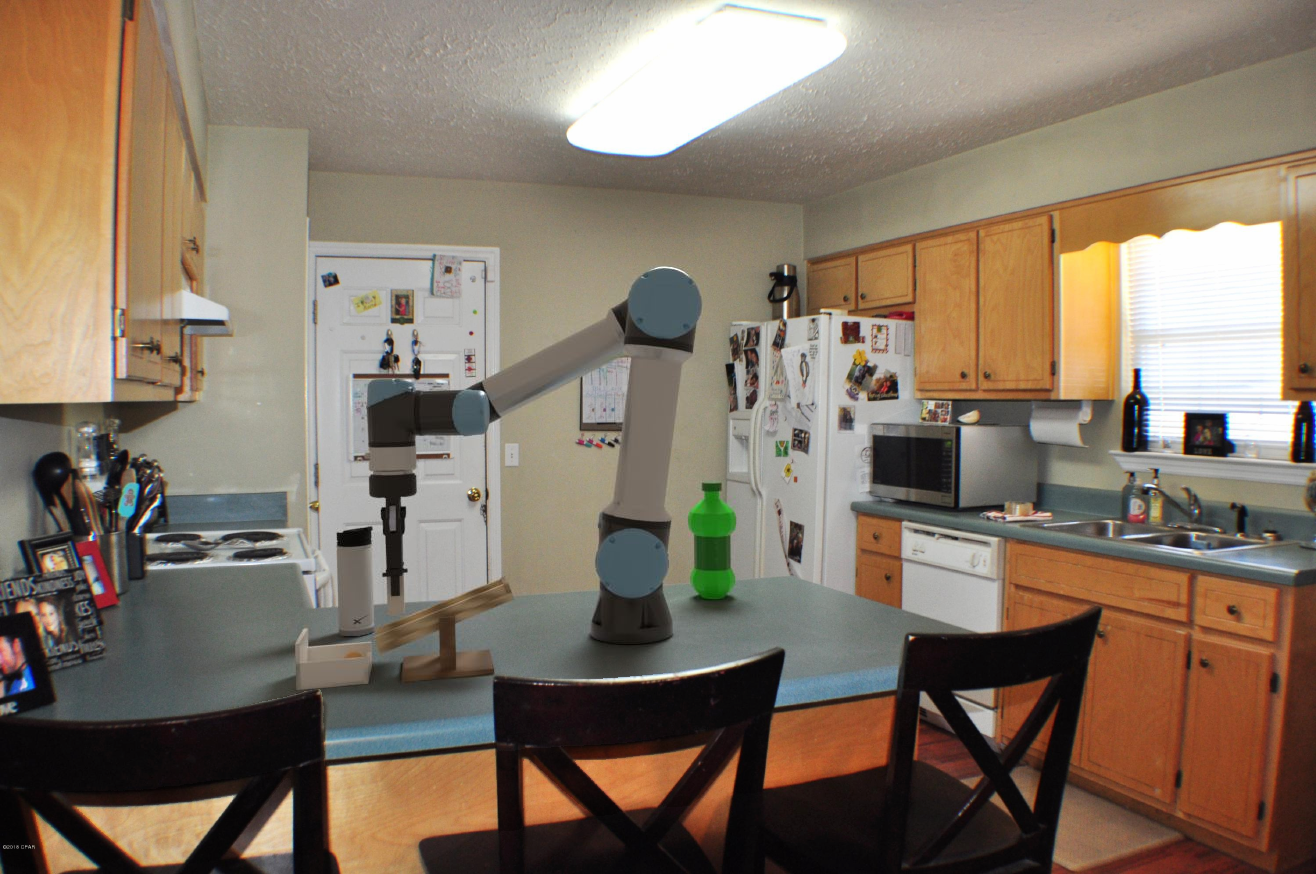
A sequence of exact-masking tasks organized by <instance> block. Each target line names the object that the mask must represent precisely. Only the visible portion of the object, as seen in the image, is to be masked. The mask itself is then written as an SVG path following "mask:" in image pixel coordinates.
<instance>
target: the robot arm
mask: <svg viewBox="0 0 1316 874" xmlns="http://www.w3.org/2000/svg"><path fill="white" fill-rule="evenodd" d="M702 306H703V301H702V296H701V293H700V289H699V288H698V286H697V284H696V282H695V280H693V279H692V277H691V276H689V274H687V273H686V272H685V271H682V270H681V269H678V268H676V267H669V266H659V267H655V268H652V269H649V270H647V271H646V272H643V273H642V274H641V275H640V276H638V277H637V278H636V280H634V282H633V284H632V285H631V287H630V290H629V291H628V295H627V298H626V299H624V300H623V301H622V302H620V303H619V304H617V305H616V306H613V307H611V308H609V309H608V311H607V314H606V317H604V318H602V319H600V320H599V321H596V322H594V323H592V324H591V325H588V326H586V327H584V328H583V329H581V330H579V331H577V332H575V333H573V334H571V335H569V336H567V337H565V338H563V339H561V340H559V341H557V342H555V343H553V344H552V345H549V346H547V347H544V348H543V349H541V350H539V351H538V352H535V353H533V354H532V355H530V356H527V357H525V358H524V359H521V360H520V361H518V362H516V363H514V364H512V365H510V366H507V367H506V368H504V369H502V370H501V371H498V372H497V373H495V374H493V375H492V374H491V375H490V376H489V377H487V378H484V379H483V380H481V381H479V382H477V383H475V384H473V385H470V386H468V387H467V388H465V389H449V390H448V389H447V390H445V389H444V390H442V389H441V390H420V389H416V387H415V382H414V381H413V380H412V379H409V378H375V379H372V380H370V381H369V382H368V384H367V388H366V389H367V393H366V394H367V396H366V398H367V399H366V406H365V408H366V421H367V442H368V443H367V447H368V452H365V453H364V455H363V456H364V459H369V460H368V470H369V471H370V472H372V473H373V474H370V475H369V476H368V491H369V492H368V494H369V497H370V498H371V497H372V498H375V499H385V506H381V508H380V519H381V521H382V535H383V536H385V537H384V538H385V539H384V540H385V541H384V542H385V561H386V562H385V565H386V566H385V567H386V568H385V572H382V574H381V577H382V578H386V603H387V604H386V606H387V607H386V608H387V610H386V611H387V616H389V617H391V616H401V615H402V616H404V615H405V614H406V611H405V610H406V609H405V608H406V606H405V605H406V604H405V603H406V602H405V601H406V600H405V574H406V573H408V572H409V570H408V568H405V567H404V566H405V562H404V546H403V545H404V539H403V535H404V534H405V531H406V517H407V506H406V505H402V498H409V497H413V496H415V495H417V493H418V491H417V490H418V487H417V486H418V485H417V474H416V473H415V472H413V471H415V470H416V469H417V467H418V466H417V446H416V443H417V442H416V437H417V436H418V437H425V436H429V437H430V436H440V437H441V436H445V437H446V436H447V437H451V436H452V437H453V436H454V437H458V436H463V437H471V436H479V435H480V436H481V435H484V434H486V433H487V432H488V430H489V425H490V424H492V423H494V422H496V421H498V420H500V419H502V418H503V417H505V416H508V415H509V414H512V413H513V412H515V411H517V410H519V409H521V408H523V407H525V406H527V405H529V404H531V403H532V402H535V401H536V400H539V399H541V398H543V397H544V396H546V395H549V394H551V393H552V392H554V391H557V390H559V389H560V388H562V387H564V386H567V385H568V384H571V383H572V382H575V381H577V380H578V379H580V378H582V377H584V376H586V375H588V374H590V373H592V372H595V370H598V369H600V368H602V367H604V366H606V365H608V364H610V363H612V362H614V361H615V360H618V359H619V358H622V357H625V356H628V357H630V363H629V373H628V380H627V387H626V388H627V389H626V394H625V404H624V412H623V421H622V426H621V427H622V428H621V435H620V442H619V443H620V444H619V449H618V450H619V451H618V460H617V466H616V467H617V468H616V475H615V483H614V492H613V499H612V500H611V502H610V503H609V504H607V505H606V506H605V507H604V508H602V511H600V512H599V515H598V522H597V529H598V546H597V551H596V554H595V559H594V562H595V563H594V565H595V566H594V567H595V571H596V574H597V576H598V579H599V593H598V596H597V600H596V603H595V606H594V610H593V614H592V617H591V620H590V636H591V637H592V638H593V639H594V640H597V641H601V642H603V643H610V644H619V645H638V644H642V645H643V644H649V643H655V642H659V641H663V640H666V639H667V638H669V637H671V636H672V635H673V634H674V622H673V618H672V615H671V612H670V608H669V606H668V603H667V600H666V597H665V594H664V584H663V581H664V580H665V578H666V576H667V574H668V570H669V568H670V567H669V566H670V560H669V553H668V551H669V544H670V534H671V527H672V526H671V525H672V519H673V518H672V516H671V514H670V513H669V512H668V510H666V507H665V502H666V494H667V487H668V479H669V471H670V464H671V463H670V462H671V456H672V455H671V454H672V447H673V440H674V433H675V424H676V415H677V407H678V399H679V394H680V393H679V391H680V386H681V385H680V384H681V378H682V377H681V376H682V369H683V365H684V363H685V362H687V361H688V360H689V359H691V358H692V357H693V354H694V347H695V339H696V334H697V333H696V332H697V325H698V321H699V319H700V316H701V313H702V308H703V307H702Z"/></svg>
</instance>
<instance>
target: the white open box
mask: <svg viewBox="0 0 1316 874" xmlns="http://www.w3.org/2000/svg"><path fill="white" fill-rule="evenodd" d="M294 646H295V647H294V648H295V649H294V650H295V651H294V653H295V656H294V657H295V679H296V680H295V681H296V682H295V683H296V684H295V685H296V686H295V687H296V688H295V689H296V691H305V690H313V689H323V688H324V689H325V688H334V687H345V686H355V685H356V686H357V685H366V684H367V685H368V684H369V682H370V681H369V680H370V677H371V672H372V667H373V665H372V664H373V660H372V659H373V657H372V656H373V655H372V654H373V652H372V647H373V646H372V641H364V642H363V641H362V642H353V643H352V642H351V643H349V642H348V643H338V644H326V645H313V646H311V645H310V646H309V628H308V627H307V628H303V630H302V631H301V633H300V635H299V636H298V638H297V639H296V641H295V643H294ZM351 652H357V653H359V654H361V655H362V657H357V658H345V659H344V657H345V656H346V655H347V654H349V653H351Z"/></svg>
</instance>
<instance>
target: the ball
mask: <svg viewBox="0 0 1316 874" xmlns="http://www.w3.org/2000/svg"><path fill="white" fill-rule="evenodd" d="M357 657H362V655H361V654H359V653H357V652H351V653H349V654H347V655H346V656H345V657H344V659H345V658H357Z"/></svg>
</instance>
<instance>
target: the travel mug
mask: <svg viewBox="0 0 1316 874" xmlns="http://www.w3.org/2000/svg"><path fill="white" fill-rule="evenodd" d="M372 531H374V528H373V526H372V525H371V526H366V527H359V528H358V527H357V528H352V529H346V530H343V531H342V532H339V531H337V532H336V541H337V542H336V575H337V577H336V578H337V608H338V609H337V611H338V615H337V616H338V634H339V635H340V636H341V637H344V636H358V635H364V636H366V635H365V634H368V633H371V632H372V633H374V631H375V608H374V603H375V602H374V601H375V600H374V573H373V572H374V571H373V566H374V565H373V564H374V563H373V547H372V546H373V543H372V542H373V541H372ZM372 633H371V634H372ZM368 635H369V634H368ZM358 637H359V636H358Z"/></svg>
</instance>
